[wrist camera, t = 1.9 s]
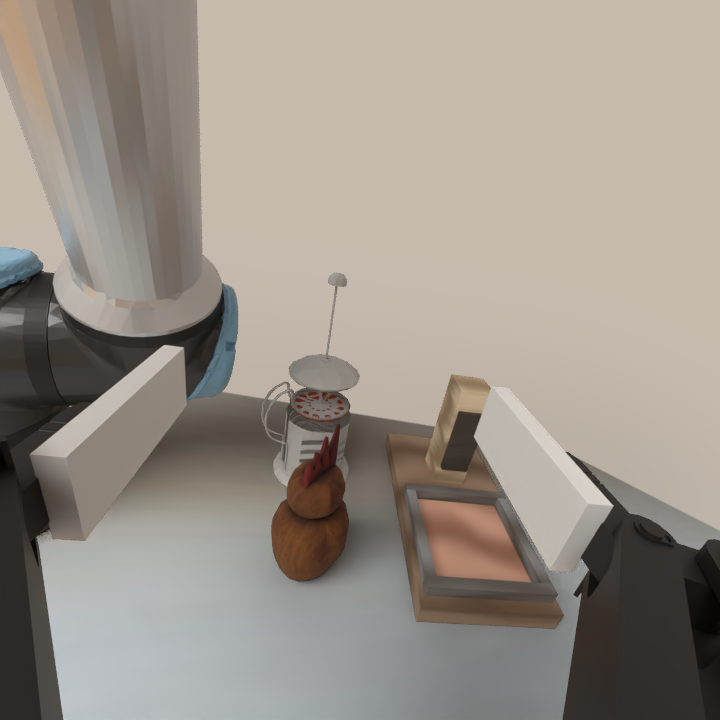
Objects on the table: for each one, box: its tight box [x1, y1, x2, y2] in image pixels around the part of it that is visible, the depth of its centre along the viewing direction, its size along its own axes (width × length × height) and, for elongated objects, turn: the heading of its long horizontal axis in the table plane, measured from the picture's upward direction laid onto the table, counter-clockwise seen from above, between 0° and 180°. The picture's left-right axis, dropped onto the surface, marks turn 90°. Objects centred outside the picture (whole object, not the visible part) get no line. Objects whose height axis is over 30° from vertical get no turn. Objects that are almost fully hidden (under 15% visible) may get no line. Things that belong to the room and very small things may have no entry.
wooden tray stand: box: [386, 375, 564, 629], centre depth 39 cm, size 24×13×15 cm, turn 3°
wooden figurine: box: [271, 424, 349, 581], centre depth 30 cm, size 7×6×15 cm
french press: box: [261, 273, 360, 487], centre depth 40 cm, size 10×12×25 cm
